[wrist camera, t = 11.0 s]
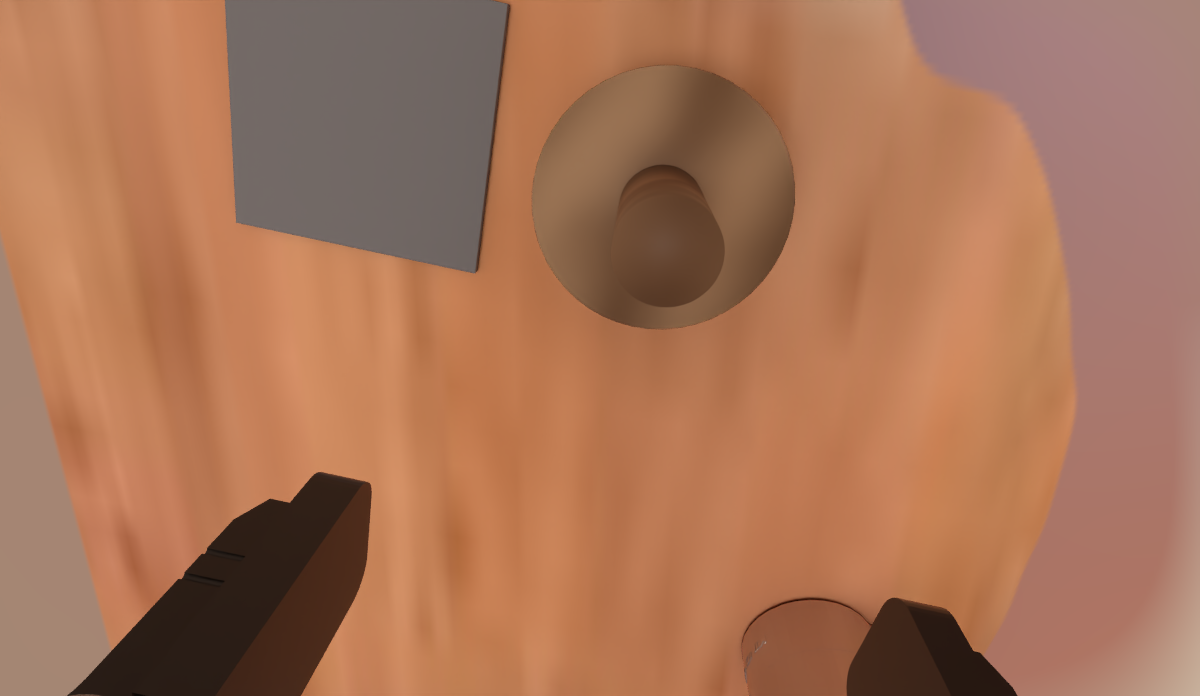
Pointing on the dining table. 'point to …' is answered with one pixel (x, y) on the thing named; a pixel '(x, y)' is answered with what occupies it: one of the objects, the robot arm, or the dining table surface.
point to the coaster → (367, 121)
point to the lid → (663, 197)
